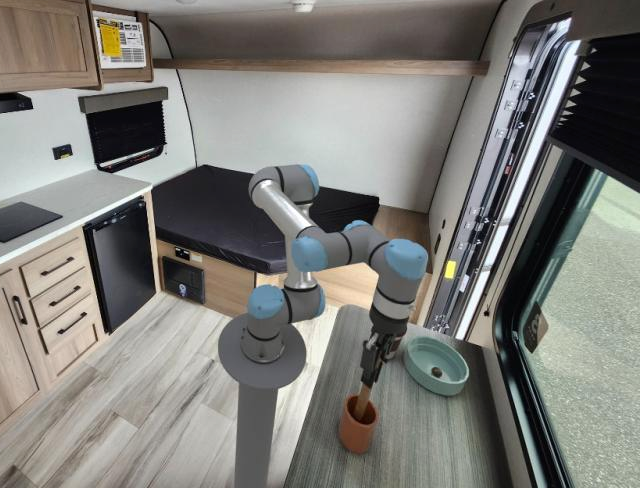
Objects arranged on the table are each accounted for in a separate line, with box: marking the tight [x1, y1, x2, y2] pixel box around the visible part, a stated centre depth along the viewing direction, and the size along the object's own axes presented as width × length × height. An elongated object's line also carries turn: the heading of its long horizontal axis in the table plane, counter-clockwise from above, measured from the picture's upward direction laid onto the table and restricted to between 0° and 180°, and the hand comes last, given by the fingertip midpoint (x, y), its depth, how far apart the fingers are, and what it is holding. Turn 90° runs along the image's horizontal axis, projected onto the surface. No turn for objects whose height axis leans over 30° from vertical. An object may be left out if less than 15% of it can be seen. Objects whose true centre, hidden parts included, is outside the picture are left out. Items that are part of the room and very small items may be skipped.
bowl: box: [403, 335, 470, 397], centre depth 101 cm, size 17×17×6 cm
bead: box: [431, 367, 442, 378], centre depth 100 cm, size 3×3×3 cm
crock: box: [337, 393, 379, 454], centre depth 82 cm, size 8×8×11 cm
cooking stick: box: [354, 358, 381, 421], centre depth 77 cm, size 2×2×22 cm
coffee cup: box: [386, 325, 408, 360], centre depth 106 cm, size 10×10×15 cm
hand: (368, 380), depth 76 cm, fingers closed on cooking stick, 2 cm apart
